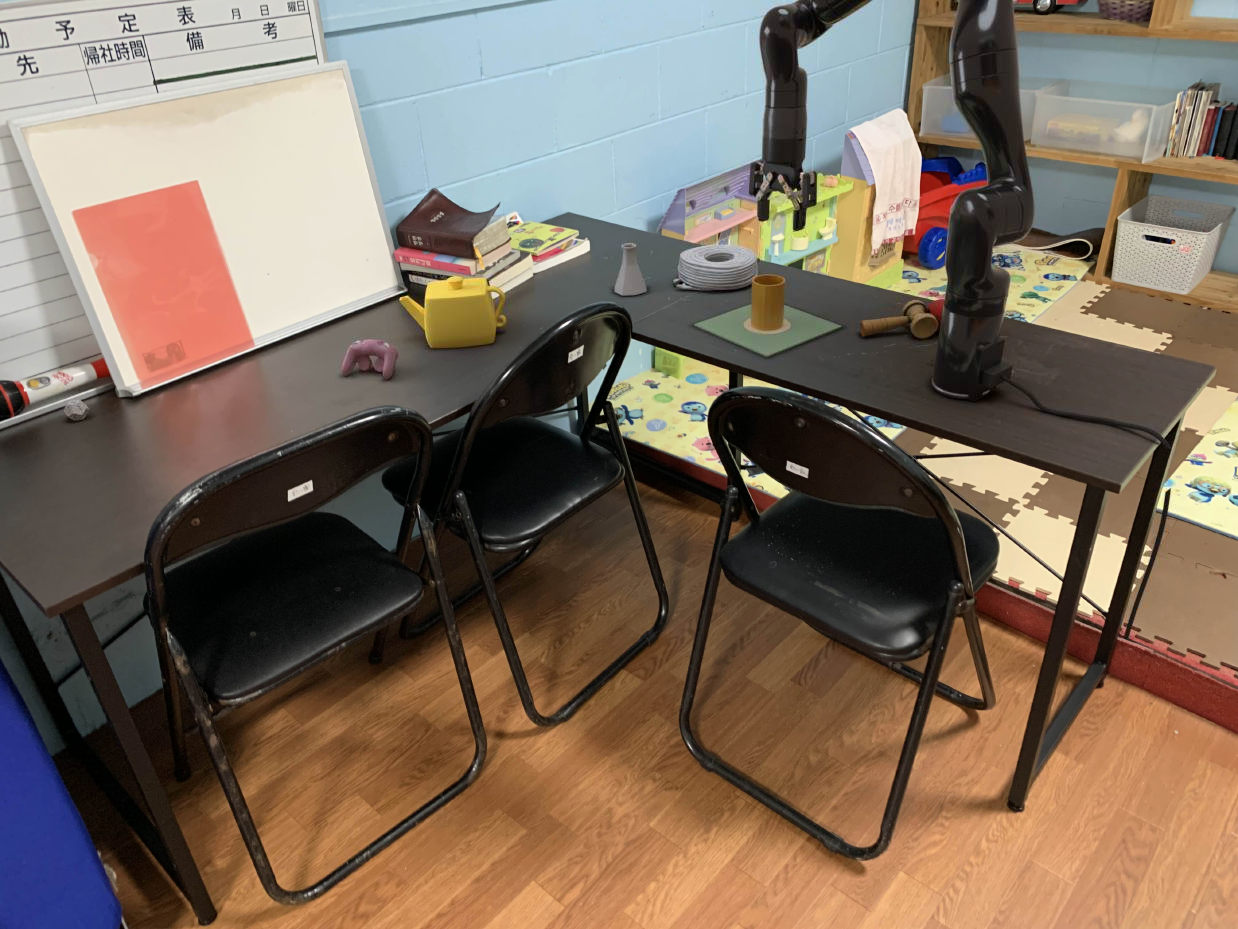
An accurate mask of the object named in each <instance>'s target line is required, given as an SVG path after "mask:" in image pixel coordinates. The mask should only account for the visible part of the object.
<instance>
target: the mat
mask: <svg viewBox="0 0 1238 929" xmlns="http://www.w3.org/2000/svg"><path fill="white" fill-rule="evenodd" d="M693 327H695V328H697V329H700V330H702V331H704V332H707V333H709V334H711V335H714V336H715V337H718V338H721V339H723V340H726V341H728V342H730V343H733V344H734V345H736V346H739V347H742V348H744V349H746V350H747V351H748V350H749V351H751V352H753V353H756V354H757V355H760V356H763V357H765V358H770V357H772V356H775V355H777V354H780V353H783V352H785V351H787V350H789V349H792V348H795V347H797V346H800V345H802V344H805V343H807V342H810V341H812V340H815V339H817V338H820V337H822V336H825V335H827V334H830V333H832V332H835V331H837V330H840V329H842V327H843V326H842V325H840V324H838V323H835V322H832V321H829V320H827V319H825V318H821V317H818V316H815V315H813V314H810V313H807V312H805V311H802V310H799V309H797V308H794V307H791V306H789V305H786V304H784V318H783V326H782V327H781V328H780V329H777V330H772V331H763V330H758V329H755V328H753V327H752V326H751V303H750V304H747V305H744V306H741V307H739V308H736V309H732V310H730V311H727V312H725V313H722V314H719V315H716V316H714V317H711V318H707V319H705V320H702V321H700V322H696V323H694V324H693Z"/></svg>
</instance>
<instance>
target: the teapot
mask: <svg viewBox="0 0 1238 929" xmlns="http://www.w3.org/2000/svg"><path fill="white" fill-rule="evenodd" d="M492 293H495V294H498V295H499V303H498V305H497V308H496V307H495V303H494V299H493V295H492ZM424 295H425V296H424V307H423V306H422V305H420V304H419V303H417V302H416V301H415V300H414V299H412V298H411V297H410V296H409V295H405V296H402V297H399V299H398V302H399V303H400V304H401V305H402V306H403V307H404V308H405V310H406V311H407V312H408V313H409V314H410V315H411V317H412V318H413V319H414V320H415V321H416V322H417V324H418V325H419V326H420V327H421V328H422V329H423V330H424V333H425V334H424V335H425V338H426V342H427V343H428V346H429V347H430V349H456V348H457V349H458V348H467V347H468V348H469V347H476V346H477V347H478V346H486V345H490V344H493V343H494V342H495V339H496V334H497V333H496V332H497V328H502V327H504V326H505V325H506V323H507V317H506V316H505V314H504V315H503V314H501V312H502V310H503V308H504V306H505V303H506V295H505V292H504V291H503V290H502V289H501V288H500V287H498V286H495V285H489V282H488V281H487V279H486V278H485V277H467V278H466V277H465V278H463V277H462V276H460V275H459V276H458V275H455V276H450V277H448V278H447V279H441V280H435V281H429V282H428V283H427V286H426V289H425V294H424ZM495 308H496V309H495ZM499 319H501V321H498V320H499Z"/></svg>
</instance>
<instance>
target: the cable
mask: <svg viewBox="0 0 1238 929" xmlns="http://www.w3.org/2000/svg"><path fill="white" fill-rule="evenodd" d="M678 261H679V262H678V266H677V273H678V274H677V275H678V278H675V279H673V281H672V283H673V284H674V285H675V287H676V289H680V290H683V291H692V290H693V291H700V292H701V291H702V292H706V291H708V292H709V291H728V290H729V291H730V290H738V289H739V290H740V289H743V288H745V287H748V286H750V285H752V279H753V278H754V277H756V276H759V269H758V266H759V265H758V256H757V254H756V252H755V251H753V250H752V249H750V248H748V247H745V246H741V245H735V244H707V245H701V246H697V247H692V248H690V249H689V248H688V249H686V250H684V251H682V252H681V253H680V254H679V260H678ZM682 282H683V283H682ZM680 283H682V284H680Z"/></svg>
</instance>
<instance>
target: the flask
mask: <svg viewBox="0 0 1238 929" xmlns="http://www.w3.org/2000/svg"><path fill="white" fill-rule="evenodd" d="M621 249H622V262H621V265H620V268H619V272H618V274H617V279H616V281H615V285H614V293H616V294H618V295H620V296H638V295H640V294H644V293H647V292H648V291H647V284H646V282H645V279H644V277H643V275H642V272H641V269H640V266H639V264H638V260H637V256H636V249H637V244H636V243H633V242H626V243H622V244H621Z"/></svg>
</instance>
